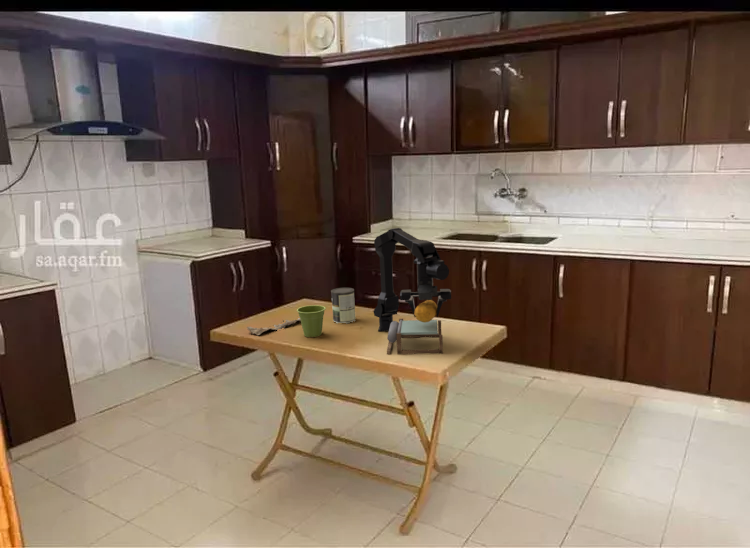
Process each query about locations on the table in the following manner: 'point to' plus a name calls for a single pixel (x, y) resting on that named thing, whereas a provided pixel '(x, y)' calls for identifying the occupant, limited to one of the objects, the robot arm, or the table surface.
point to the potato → (426, 311)
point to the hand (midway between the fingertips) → (426, 316)
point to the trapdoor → (411, 328)
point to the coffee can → (343, 305)
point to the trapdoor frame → (399, 336)
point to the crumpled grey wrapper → (280, 326)
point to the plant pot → (311, 319)
